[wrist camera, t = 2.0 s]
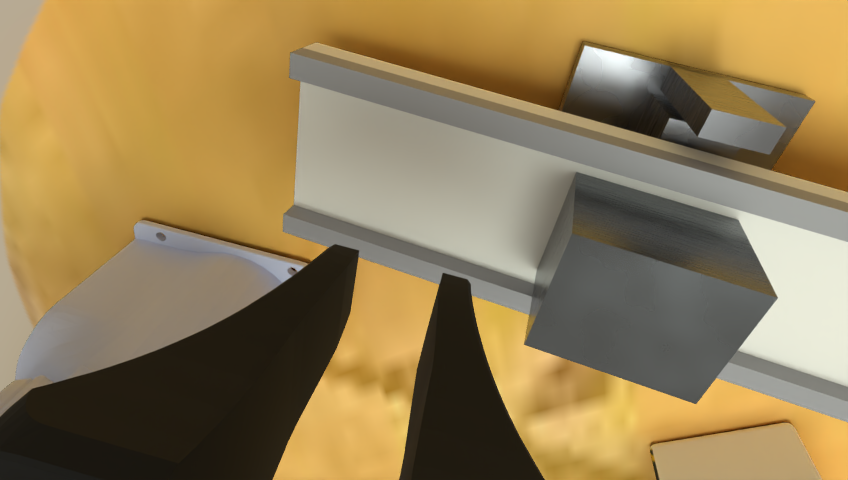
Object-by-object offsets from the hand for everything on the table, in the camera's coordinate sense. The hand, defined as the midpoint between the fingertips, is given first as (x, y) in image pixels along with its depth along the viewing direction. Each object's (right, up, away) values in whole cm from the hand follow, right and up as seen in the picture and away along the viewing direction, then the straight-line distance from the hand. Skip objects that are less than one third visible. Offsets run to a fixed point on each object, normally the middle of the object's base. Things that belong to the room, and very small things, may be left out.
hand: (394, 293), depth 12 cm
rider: (+8, +1, +4) cm, 9 cm away
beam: (+9, +2, +7) cm, 12 cm away
